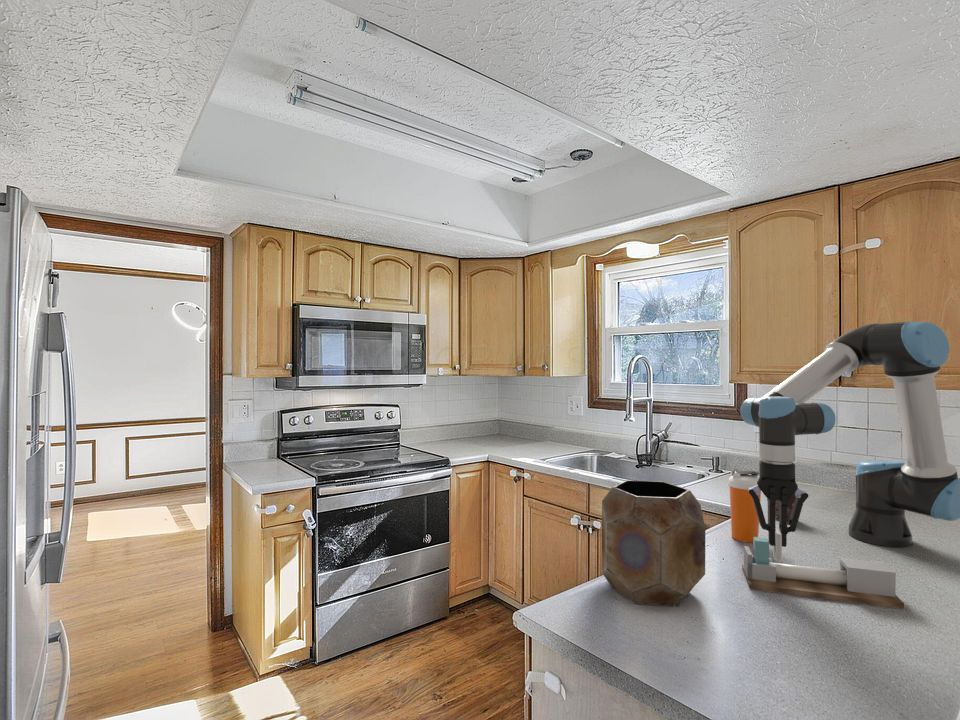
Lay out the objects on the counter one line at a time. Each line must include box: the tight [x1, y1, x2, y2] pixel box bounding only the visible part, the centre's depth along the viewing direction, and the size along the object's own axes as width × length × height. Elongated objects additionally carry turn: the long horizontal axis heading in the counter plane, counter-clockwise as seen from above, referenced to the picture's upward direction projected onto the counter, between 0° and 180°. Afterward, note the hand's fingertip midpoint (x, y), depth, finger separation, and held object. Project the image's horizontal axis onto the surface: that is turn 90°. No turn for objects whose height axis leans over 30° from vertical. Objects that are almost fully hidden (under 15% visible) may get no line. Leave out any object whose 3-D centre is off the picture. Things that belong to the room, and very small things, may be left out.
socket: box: [743, 545, 776, 582], centre depth 128 cm, size 6×6×6 cm
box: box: [775, 492, 796, 521], centre depth 176 cm, size 6×4×12 cm
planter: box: [601, 480, 706, 607], centre depth 123 cm, size 22×24×24 cm
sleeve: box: [839, 557, 897, 597], centre depth 121 cm, size 9×6×5 cm, turn 71°
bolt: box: [752, 536, 847, 586], centre depth 125 cm, size 20×3×9 cm, turn 71°
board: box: [741, 564, 905, 610], centre depth 124 cm, size 30×12×1 cm, turn 71°
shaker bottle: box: [728, 469, 762, 543], centre depth 157 cm, size 9×9×20 cm
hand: (777, 559), depth 127 cm, fingers closed
